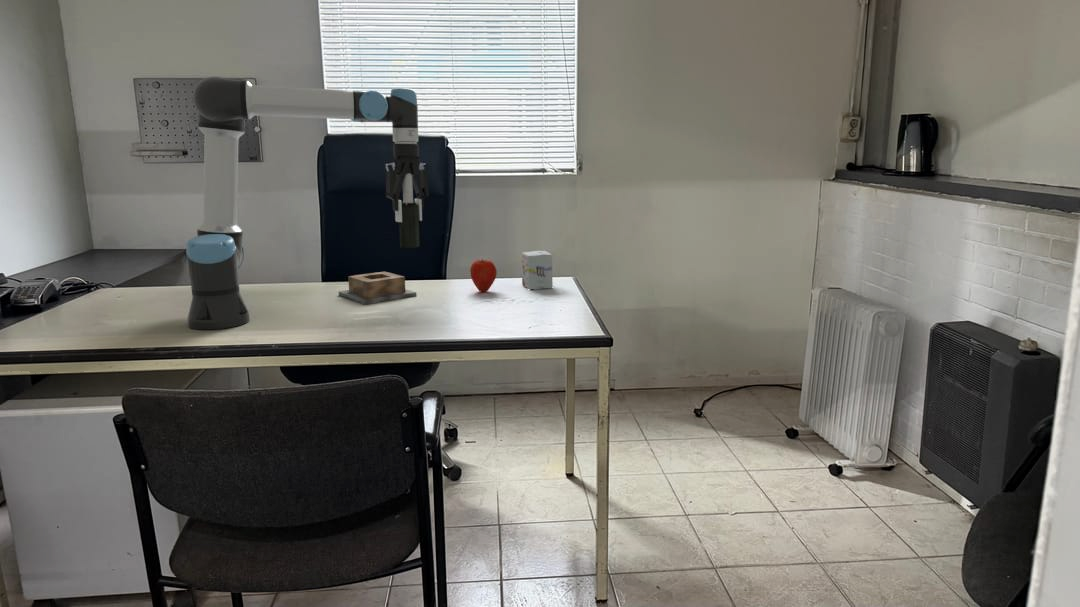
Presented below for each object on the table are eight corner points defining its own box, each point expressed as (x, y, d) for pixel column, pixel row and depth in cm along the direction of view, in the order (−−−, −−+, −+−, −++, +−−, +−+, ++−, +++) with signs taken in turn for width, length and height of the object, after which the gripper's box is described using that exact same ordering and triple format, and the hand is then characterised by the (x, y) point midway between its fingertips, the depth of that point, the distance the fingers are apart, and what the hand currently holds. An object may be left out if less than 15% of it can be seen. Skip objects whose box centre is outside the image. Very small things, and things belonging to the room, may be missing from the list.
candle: (420, 245, 212) (417, 163, 207) (415, 248, 207) (412, 163, 202) (404, 245, 213) (401, 163, 207) (399, 247, 208) (395, 163, 202)
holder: (364, 304, 207) (363, 284, 205) (338, 295, 220) (337, 276, 219) (416, 295, 218) (415, 276, 217) (388, 287, 232) (387, 269, 230)
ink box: (521, 285, 234) (521, 251, 232) (545, 283, 237) (545, 250, 234) (528, 290, 226) (528, 254, 224) (553, 288, 229) (553, 253, 226)
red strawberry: (498, 289, 228) (498, 257, 226) (494, 294, 220) (493, 261, 218) (473, 288, 229) (472, 256, 227) (468, 294, 221) (467, 261, 218)
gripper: (382, 142, 194) (386, 224, 199) (440, 143, 206) (442, 219, 212) (370, 142, 200) (374, 222, 205) (427, 143, 212) (429, 218, 217)
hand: (408, 220), depth 208 cm, fingers closed on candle, 6 cm apart
